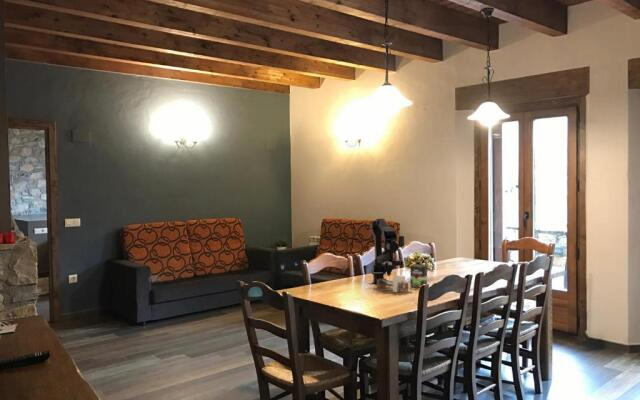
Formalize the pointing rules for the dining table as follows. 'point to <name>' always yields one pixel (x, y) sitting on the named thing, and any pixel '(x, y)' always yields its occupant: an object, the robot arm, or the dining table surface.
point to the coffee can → (418, 276)
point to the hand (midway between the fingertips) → (388, 275)
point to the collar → (395, 282)
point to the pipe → (390, 283)
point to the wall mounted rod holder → (389, 290)
